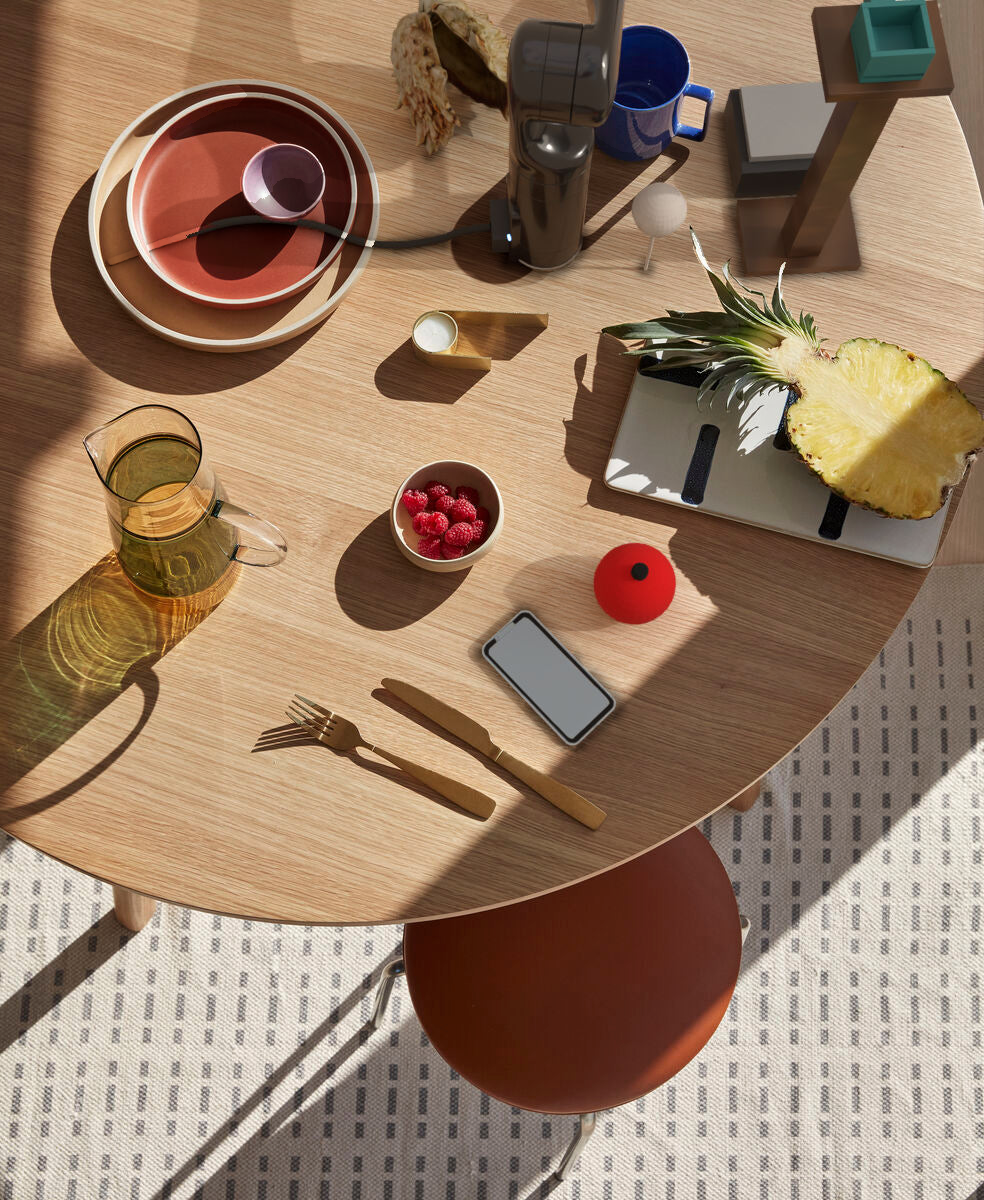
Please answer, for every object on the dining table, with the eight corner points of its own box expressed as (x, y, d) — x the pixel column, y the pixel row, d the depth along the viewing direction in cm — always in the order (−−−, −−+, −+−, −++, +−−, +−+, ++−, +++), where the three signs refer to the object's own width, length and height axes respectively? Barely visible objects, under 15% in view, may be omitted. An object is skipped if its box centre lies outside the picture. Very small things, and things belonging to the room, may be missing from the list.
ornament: (659, 642, 123) (672, 621, 114) (581, 620, 124) (588, 598, 114) (677, 567, 125) (692, 541, 116) (601, 547, 126) (609, 519, 116)
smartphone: (571, 749, 120) (477, 650, 122) (571, 750, 120) (477, 652, 123) (620, 703, 121) (525, 606, 123) (619, 704, 122) (525, 607, 124)
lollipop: (672, 249, 136) (692, 173, 121) (669, 292, 134) (689, 220, 120) (621, 245, 136) (636, 168, 121) (618, 288, 134) (632, 215, 120)
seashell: (436, 86, 120) (556, 50, 124) (367, -28, 125) (485, -58, 129) (427, 199, 137) (533, 165, 141) (366, 95, 142) (470, 65, 146)
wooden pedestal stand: (744, 277, 135) (818, 95, 104) (734, 205, 137) (803, 7, 106) (858, 269, 135) (965, 86, 104) (846, 198, 137) (947, -2, 106)
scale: (733, 198, 138) (744, 168, 132) (722, 116, 141) (731, 83, 135) (845, 191, 138) (860, 161, 132) (831, 109, 141) (845, 76, 135)
